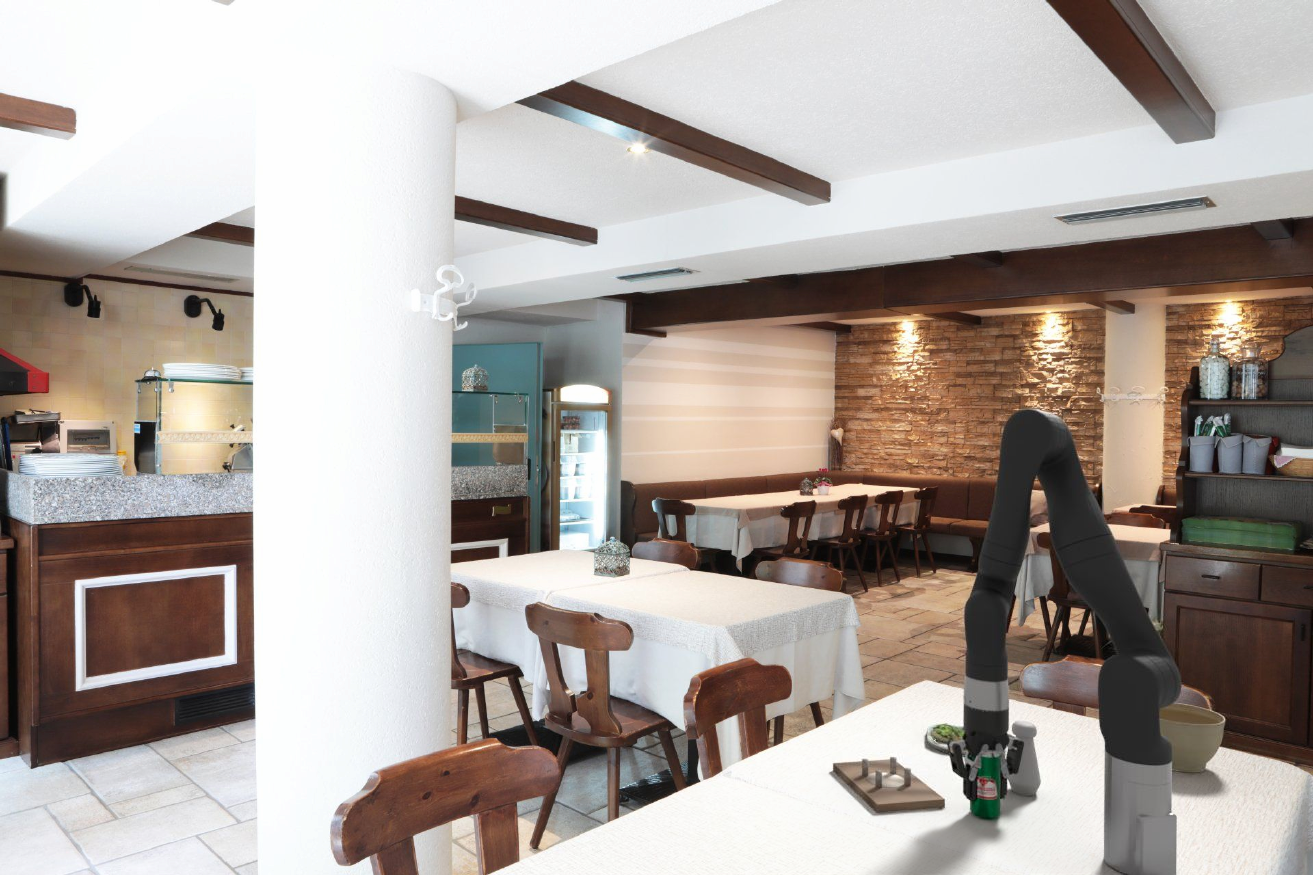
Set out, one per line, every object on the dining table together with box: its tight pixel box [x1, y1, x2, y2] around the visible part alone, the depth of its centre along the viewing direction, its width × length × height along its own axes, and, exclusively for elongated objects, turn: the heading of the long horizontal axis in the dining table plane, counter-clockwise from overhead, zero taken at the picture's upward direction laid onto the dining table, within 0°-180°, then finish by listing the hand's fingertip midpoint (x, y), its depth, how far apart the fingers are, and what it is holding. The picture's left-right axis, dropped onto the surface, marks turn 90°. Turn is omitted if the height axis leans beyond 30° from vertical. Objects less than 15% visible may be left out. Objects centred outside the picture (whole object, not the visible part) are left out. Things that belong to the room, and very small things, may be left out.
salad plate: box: [926, 722, 1013, 755], centre depth 189 cm, size 19×18×5 cm
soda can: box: [969, 749, 1002, 821], centre depth 154 cm, size 5×5×12 cm
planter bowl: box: [1159, 702, 1226, 773], centre depth 179 cm, size 16×16×11 cm
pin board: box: [832, 756, 946, 814], centre depth 165 cm, size 20×13×4 cm, turn 11°
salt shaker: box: [1007, 720, 1042, 797], centre depth 164 cm, size 6×6×13 cm
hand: (985, 797), depth 154 cm, fingers closed on soda can, 5 cm apart
